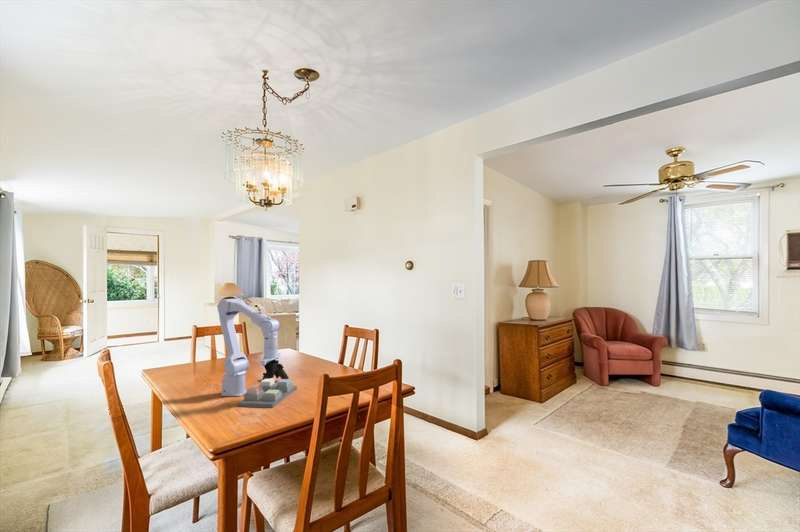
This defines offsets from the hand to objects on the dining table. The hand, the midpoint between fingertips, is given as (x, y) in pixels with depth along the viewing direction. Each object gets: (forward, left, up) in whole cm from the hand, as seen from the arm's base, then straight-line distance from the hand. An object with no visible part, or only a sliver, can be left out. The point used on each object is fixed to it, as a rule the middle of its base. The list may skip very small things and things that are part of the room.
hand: (270, 377), depth 163 cm
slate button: (+2, +8, -6) cm, 11 cm away
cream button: (-6, +8, -6) cm, 12 cm away
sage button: (+2, -4, -7) cm, 9 cm away
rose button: (-6, -4, -6) cm, 9 cm away
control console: (-2, +2, -9) cm, 10 cm away
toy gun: (-11, +27, -10) cm, 31 cm away
